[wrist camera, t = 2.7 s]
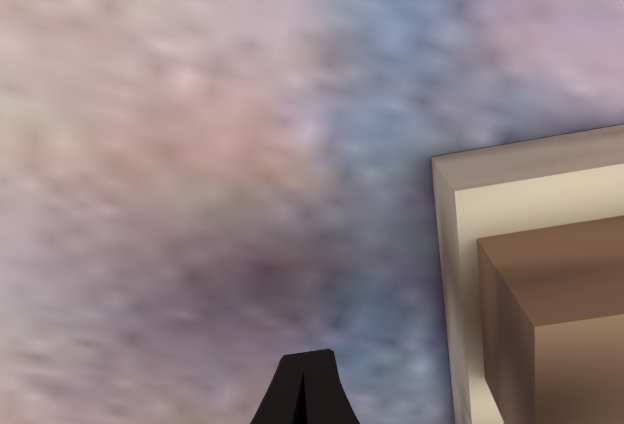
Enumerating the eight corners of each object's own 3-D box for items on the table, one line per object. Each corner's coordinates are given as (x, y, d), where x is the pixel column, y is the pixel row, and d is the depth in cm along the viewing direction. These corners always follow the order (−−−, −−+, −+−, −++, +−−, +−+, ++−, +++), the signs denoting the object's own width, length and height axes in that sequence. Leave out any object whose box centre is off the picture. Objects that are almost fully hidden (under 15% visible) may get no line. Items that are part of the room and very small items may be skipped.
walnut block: (649, 356, 16) (752, 469, 12) (484, 378, 16) (535, 495, 12) (665, 208, 14) (795, 289, 10) (476, 238, 14) (534, 326, 10)
